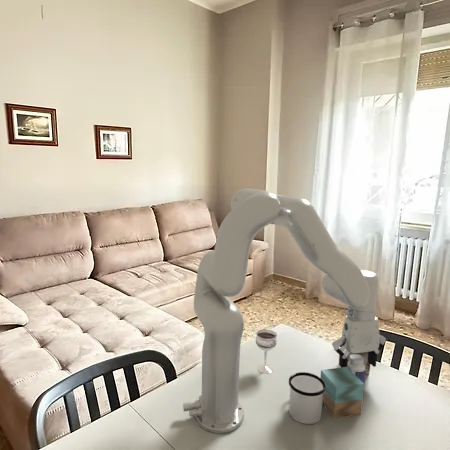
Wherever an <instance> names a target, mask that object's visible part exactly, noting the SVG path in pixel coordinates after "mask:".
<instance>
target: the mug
mask: <svg viewBox="0 0 450 450" xmlns="http://www.w3.org/2000/svg"><path fill="white" fill-rule="evenodd" d="M320 377H321V376H318V375H316V374H314V373H311V372H307V371H306V372H304V371H303V372H301V371H300V372H295V373H293V374H291V375H290V376H289V378H288V385H289V389H290V390H289V403H288V405H289V406H288V413H289V415H290V416H291V417H292V418H293V420H295V421H297V422H298V423H302V424H305V425H312V424H316V423H318V422H320V420H321V418H322V412H323V411H322V408H323V404H322V399H323V392H324V391H325V389H326V386H325V382H324V381H323V380H322V379H321V378H320Z"/></svg>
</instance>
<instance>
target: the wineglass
mask: <svg viewBox="0 0 450 450" xmlns="http://www.w3.org/2000/svg"><path fill="white" fill-rule="evenodd" d="M255 335H256V337H255V344H256V345H257V347H258V348H259V349H260V350H262V351H263V352H264V364H259V365H258V366H257V371H258V372H260V373H261V374H271V373H272V372H273V370H274V369H273V367H272V366H271V365H268V364H267V358H268V357H267V355H268V352H269V351H272V350H273V349H275V347H276V346H277V344H278V340H277V337H278V334H277V332H275V331H273V330H271V329H259V330H257V331H256V332H255Z"/></svg>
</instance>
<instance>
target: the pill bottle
mask: <svg viewBox="0 0 450 450" xmlns="http://www.w3.org/2000/svg"><path fill="white" fill-rule="evenodd" d="M349 360H350V361H349V362H348V365H347V368H348V369H349V370H350V371H351V372H352V373H353V374H354V375H355V376H357V377H358V378H359V379H360V380H361V381H362V382H363V383H364V384H365V377H366V374H365V365H364V364H363V363H364V358H363V357H362V356H361V355H358V354H351V355H350V358H349Z"/></svg>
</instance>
